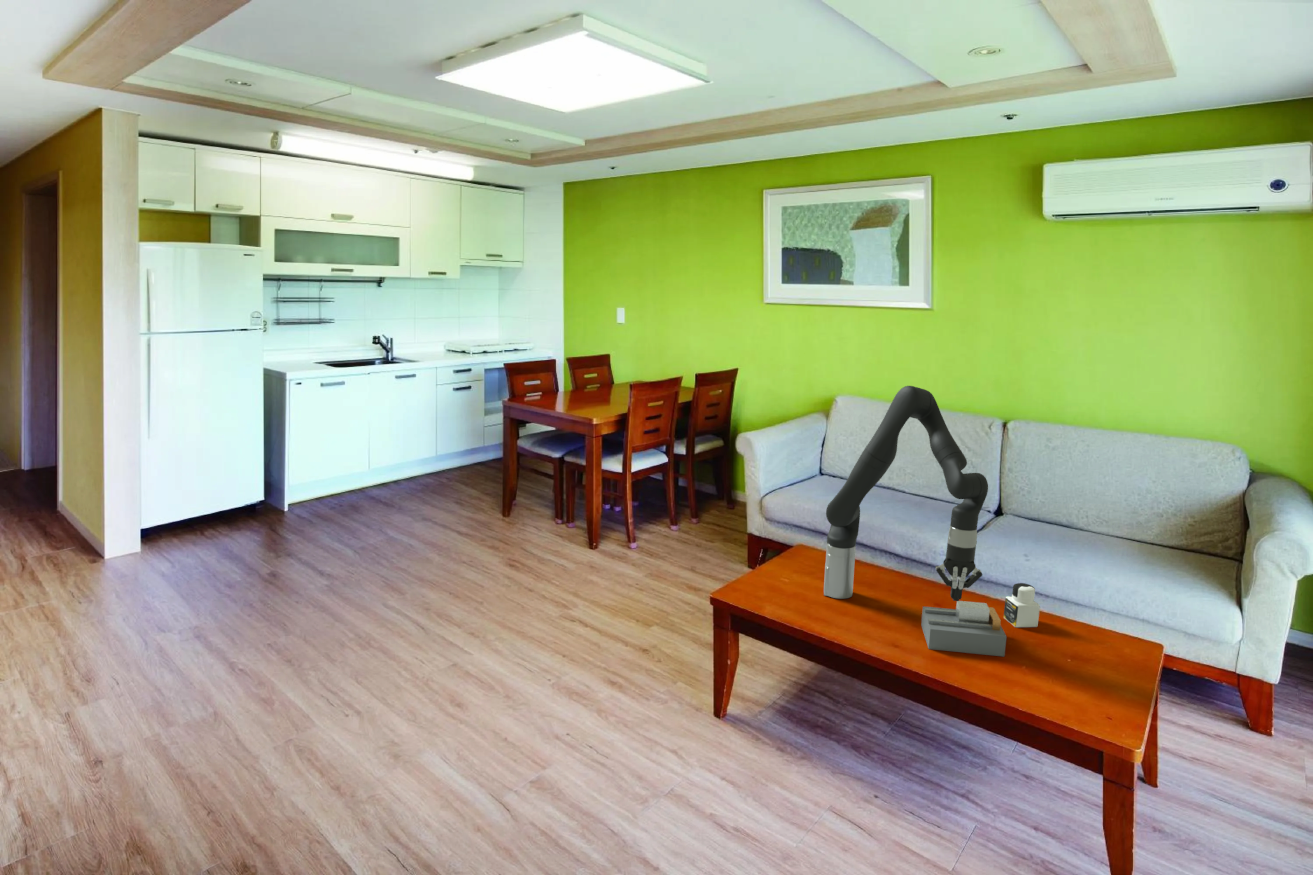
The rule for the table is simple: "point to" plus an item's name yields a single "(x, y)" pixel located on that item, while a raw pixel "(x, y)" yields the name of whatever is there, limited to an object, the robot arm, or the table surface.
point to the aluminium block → (972, 612)
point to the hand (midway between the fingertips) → (955, 599)
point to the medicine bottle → (1022, 606)
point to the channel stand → (962, 633)
